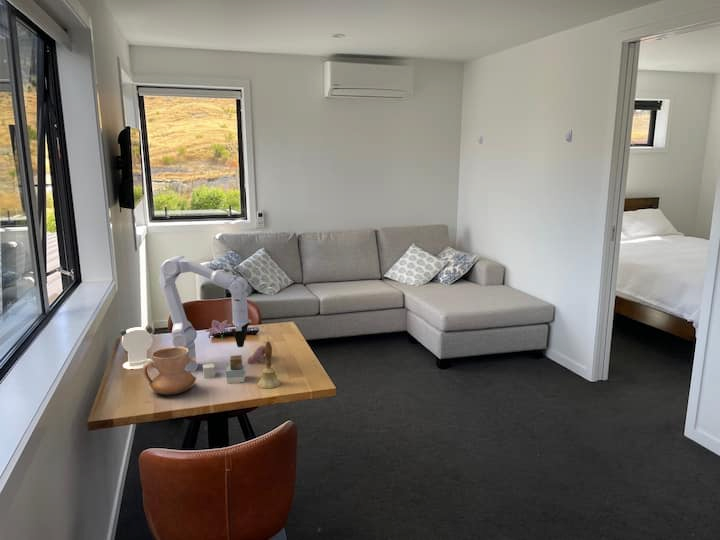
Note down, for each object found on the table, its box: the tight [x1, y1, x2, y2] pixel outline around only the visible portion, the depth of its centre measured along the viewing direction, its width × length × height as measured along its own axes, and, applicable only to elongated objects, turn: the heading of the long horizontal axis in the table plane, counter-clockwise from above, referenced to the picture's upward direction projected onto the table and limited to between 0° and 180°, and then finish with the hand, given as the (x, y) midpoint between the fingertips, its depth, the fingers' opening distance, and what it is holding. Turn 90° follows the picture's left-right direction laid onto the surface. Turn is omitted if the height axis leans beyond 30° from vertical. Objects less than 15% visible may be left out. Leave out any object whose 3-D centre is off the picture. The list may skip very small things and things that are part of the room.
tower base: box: [226, 370, 246, 384], centre depth 199 cm, size 6×6×2 cm
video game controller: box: [246, 344, 266, 365], centre depth 218 cm, size 10×5×7 cm, turn 169°
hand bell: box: [257, 341, 282, 389], centre depth 193 cm, size 8×8×16 cm
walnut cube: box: [229, 354, 243, 370], centre depth 198 cm, size 4×4×4 cm
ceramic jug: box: [142, 346, 197, 396], centre depth 189 cm, size 18×14×14 cm
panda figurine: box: [120, 325, 154, 370], centre depth 214 cm, size 12×11×15 cm
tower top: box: [225, 363, 245, 379], centre depth 198 cm, size 6×6×2 cm
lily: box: [204, 319, 233, 341], centre depth 246 cm, size 12×12×10 cm
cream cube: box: [202, 363, 216, 379], centre depth 203 cm, size 4×4×4 cm
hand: (241, 343), depth 207 cm, fingers open, 7 cm apart
